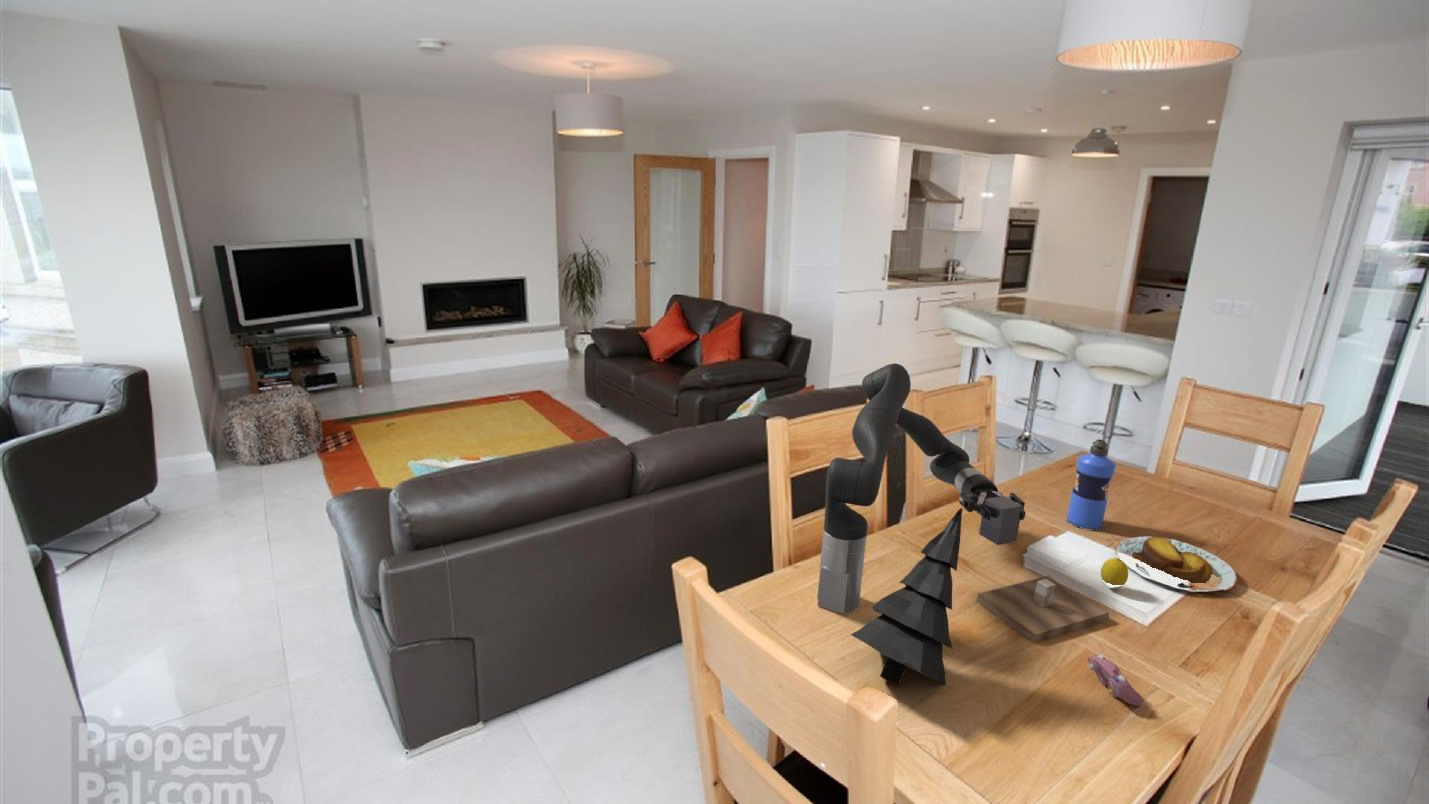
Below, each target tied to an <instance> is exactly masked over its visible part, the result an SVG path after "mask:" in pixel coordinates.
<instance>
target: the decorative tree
mask: <svg viewBox="0 0 1429 804" xmlns="http://www.w3.org/2000/svg"><path fill="white" fill-rule="evenodd" d="M962 515H963V508H959V509H958V510H957V512H956V513H955V514H954V515H953V516H952V518H950V520H949V522H948V523H947V525H946V526H945V528H944V529H943V530H942V531H941V532H939V533H938V534H937V535H936V536H935V537H933V538H932V539H931V540H930V541H929V542H928V543H927V544H926V545H925V546H924V548H922V550H921V551H920V553H921V554H923V555H925V556H923V558H922V559H921V560H919V561H918V562H917V563H916V564H915V565H914V567H913V568H912V569H910V571H909V573H907V574H906V575H905V576H904V577H903V578H902V579H901V580H900V581H898V583H899V584H902V585H904V587H902V588H899V589H898V590H896V591H894V592H891V593H890V594H888V595H886V596H885V597H882V598H881V599H879V600H878V601H877V602H876V603H874V604H873V605H872V606H870V608H871V610H873V611H874V612H876V613H879V615H878V616H877V617H874V618H872V619H871V620H869V621H868V622H866V623H865V625H863V626H862V627H861V628H859V629H858V630H857V631H854V632H853V633H851V634H850V635H851V636H852V637H854V638H855V639H857V640H859V641H861V642H862V643H864V644H866V645H867V646H869V647H871V648H872V649H874V650H876V651H877V652H878V653H880V654H881V655H883V656H886V657H887V659H886V661H885V663H884V666H883V667H882V670H881V673H880V674H879V677H880V678H882V679H883V680H885V681H887V682H888V683H891V684H893V685H894V686H897V687H899V686H900V683H901V682H902V678H903V676H904V675H905V672H906V669H907V667H908V668H910V669H912V670H914V671H915V672H918V673H919V674H922V675H924V676H927V677H928V678H931V679H933V680H934V681H936V682H938V683H941V684H944V685H947V684H946V669H945V665H944V660H943V657H944V655H943V653H944V651H943V645H944V646H945V647H947V648H950V649H951V650H954V646H953V644H952V640H951V637H950V631H949V619H948V612H947V609H949V610H951V611H952V610H953V578H952V570H951V569H953V570H954V571H956V572H957V571H958V562H959V553H960V545H961V535H962V534H961V531H962V530H961V529H962V518H963V517H962Z"/></svg>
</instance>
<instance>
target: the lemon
mask: <svg viewBox="0 0 1429 804" xmlns="http://www.w3.org/2000/svg"><path fill="white" fill-rule="evenodd" d="M1100 578H1102V579H1101V581H1102V580H1104V581H1105V582H1106V583H1110V584H1112V585H1123V586H1124V585H1125V584H1126V583H1127V582H1128V581H1127V580H1128V578H1129V568H1128V566H1127V565H1126V564H1125V563H1124V562H1123V561H1122V560H1120V559H1119V557H1113V558H1109V559H1107V560H1106V561H1104V562H1103V564H1102V566H1101V570H1100Z"/></svg>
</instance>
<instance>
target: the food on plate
mask: <svg viewBox="0 0 1429 804" xmlns="http://www.w3.org/2000/svg"><path fill="white" fill-rule="evenodd" d="M1114 550H1115V552H1116V551H1117V552H1119V553H1124V554H1127V555H1129V556H1131V555H1132V557H1133V558H1135V559H1138V560H1140V561H1141V562H1144V563H1146V564H1147V565H1150V567H1152V568H1156V569H1158V570H1161V571H1164V572H1165V573H1167V574H1170V575H1172V576H1173V577H1178V578H1180V579H1183V580H1188V581H1190V582H1191V583H1206V582H1207V581H1209V579H1210V578H1211V575H1212V574H1214V575H1215V576H1216V577H1219V578H1220V580H1221V582H1220V584H1219V586H1217V587H1213V589H1202V590H1199V589H1197V590H1192V589H1191V590H1189V591H1188V592H1190V593H1191V592H1192V593H1196V592H1207V593H1208V592H1215V591H1216V592H1217V591H1221V590H1223V591H1227V590H1228V591H1229V590H1230V589H1232V588H1233V589H1234V586H1235V585H1236V586H1237V583H1238V581H1239V579H1238V577H1237V573H1236V572H1235V570H1234V568H1233V567H1232V566H1231V565H1230V564H1229V563H1227V562H1226V561H1225V560H1223V559H1221V558H1219V557H1218V556H1217V555H1215V554H1213V553H1211V552H1209V551H1207V550H1204V549H1203V548H1200V547H1197V546H1195V545H1192V544H1190V543H1187V542H1182V541H1179V540H1178V539H1175V538H1173V539H1170V538H1166V537H1162V536H1161V537H1159V536H1158V537H1157V536H1146V535H1145V536H1135V537H1129V538H1126V539H1122V540H1121V541H1120V542H1118V543H1117V544H1116V546H1115V549H1114ZM1236 586H1235V587H1236Z"/></svg>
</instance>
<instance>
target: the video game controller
mask: <svg viewBox="0 0 1429 804" xmlns="http://www.w3.org/2000/svg"><path fill="white" fill-rule="evenodd" d="M1087 661H1088V665H1087V667H1088V669H1089V670H1091V671H1093V672H1094V673H1095V675H1096V677H1097V679H1098V681H1099V682H1100V683H1101V684H1102V685H1103V686H1104V687H1105V686H1107V689H1108V693H1109V694H1110V695H1112V696H1113V697H1114V698H1120V699H1122V700H1123V701H1124V702H1125V703H1128V704H1129V705H1131V706H1134V707H1138V706H1141V705H1142V703H1143V701H1144V699H1143V696H1142V694H1140V693H1139V692H1137V691H1136V690H1135V689H1134V688H1133V687H1132V685H1131V684H1130V682H1129V681H1128V680H1127V678H1126V677H1125V676H1124V674H1123V673H1122V672H1121V670H1120V668H1119V667H1118V665H1117V664H1115V662H1113V661H1111V660H1109V659H1107V658H1106V657H1105V656H1104V655H1103V654H1102V653H1101V654H1094V655H1091V656H1089V657H1087Z"/></svg>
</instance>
